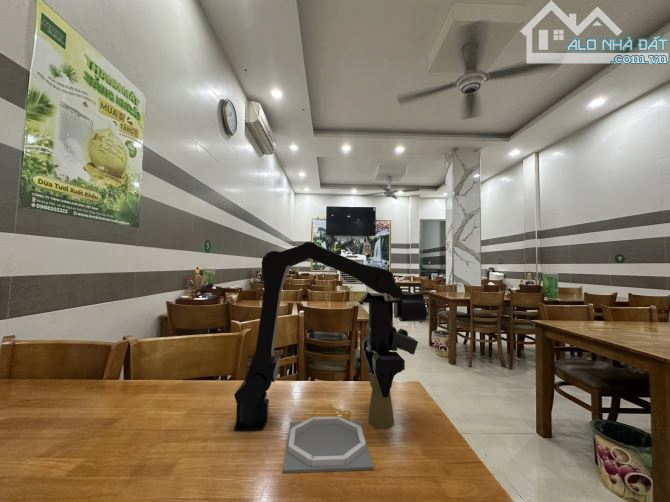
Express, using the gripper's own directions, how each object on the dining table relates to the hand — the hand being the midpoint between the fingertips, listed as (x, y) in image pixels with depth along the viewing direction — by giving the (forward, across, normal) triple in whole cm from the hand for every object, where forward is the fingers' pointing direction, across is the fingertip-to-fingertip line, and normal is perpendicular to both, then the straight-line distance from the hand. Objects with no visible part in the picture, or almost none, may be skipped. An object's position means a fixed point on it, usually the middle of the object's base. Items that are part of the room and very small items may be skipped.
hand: (380, 388), depth 69 cm
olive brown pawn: (+8, 0, 0) cm, 8 cm away
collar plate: (+8, -8, +13) cm, 17 cm away
